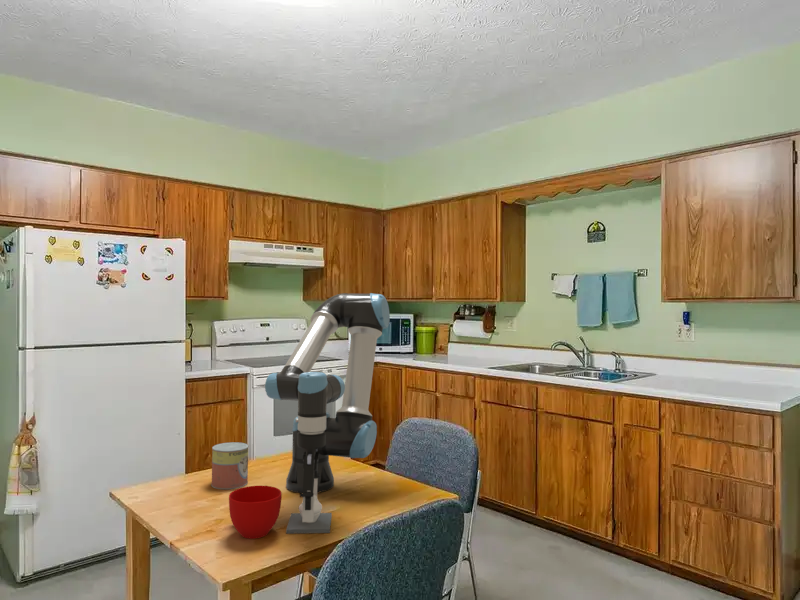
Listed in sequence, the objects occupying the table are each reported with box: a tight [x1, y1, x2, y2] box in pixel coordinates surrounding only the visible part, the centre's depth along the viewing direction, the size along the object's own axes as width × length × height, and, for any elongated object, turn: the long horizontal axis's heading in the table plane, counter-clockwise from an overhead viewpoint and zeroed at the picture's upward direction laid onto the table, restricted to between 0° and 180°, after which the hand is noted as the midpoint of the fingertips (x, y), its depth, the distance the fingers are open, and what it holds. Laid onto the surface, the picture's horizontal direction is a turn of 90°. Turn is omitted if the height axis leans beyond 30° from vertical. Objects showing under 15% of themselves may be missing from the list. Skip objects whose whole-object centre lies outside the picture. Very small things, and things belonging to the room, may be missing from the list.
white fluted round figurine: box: [298, 495, 323, 523], centre depth 144 cm, size 6×6×7 cm
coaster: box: [285, 512, 333, 535], centre depth 144 cm, size 11×11×1 cm
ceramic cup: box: [228, 485, 282, 540], centre depth 140 cm, size 13×17×10 cm
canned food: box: [210, 441, 249, 490], centre depth 176 cm, size 11×11×12 cm
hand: (310, 511), depth 144 cm, fingers open, 13 cm apart
